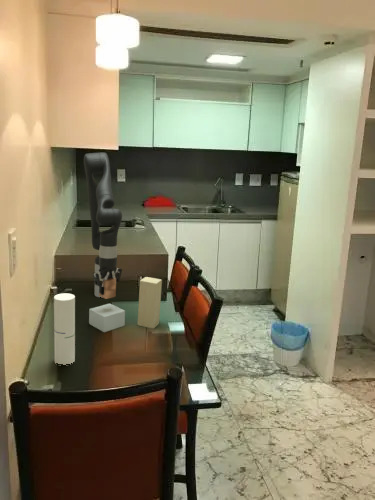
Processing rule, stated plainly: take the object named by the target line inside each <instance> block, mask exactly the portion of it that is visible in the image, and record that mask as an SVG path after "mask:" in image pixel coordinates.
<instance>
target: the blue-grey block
mask: <svg viewBox="0 0 375 500" xmlns="http://www.w3.org/2000/svg"><path fill="white" fill-rule="evenodd" d="M88 315H89V316H88V317H89V318H88V324H89V325H90V326H93V327H94V328H95V329H98V330H99V331H101V332H102V333H106V332H109V331H112V330H115V329H119V328H121V327H124V326H125V325H126V323H125V322H126V310H124V309H122V308H120V307H118V306H117V305H114V304H111V303H110V302H109V303H106V304H103V305H100V306H95V307H91V308H89V311H88Z"/></svg>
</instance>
